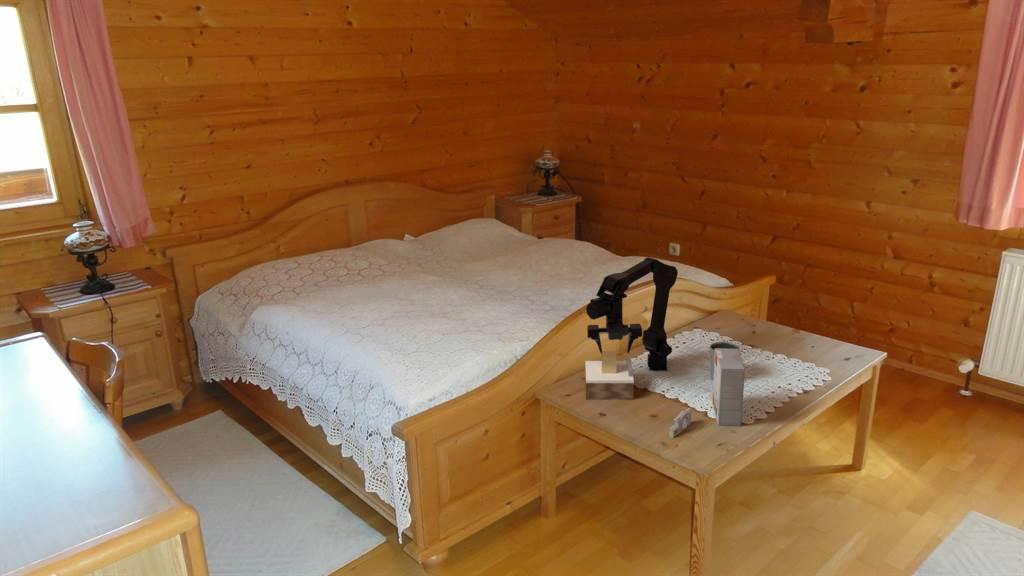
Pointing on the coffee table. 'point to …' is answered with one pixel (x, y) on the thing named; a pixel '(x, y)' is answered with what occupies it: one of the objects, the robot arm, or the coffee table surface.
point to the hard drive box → (728, 386)
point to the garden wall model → (681, 422)
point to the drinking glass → (712, 353)
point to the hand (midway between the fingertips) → (614, 353)
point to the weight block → (608, 362)
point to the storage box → (609, 390)
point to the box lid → (621, 376)
